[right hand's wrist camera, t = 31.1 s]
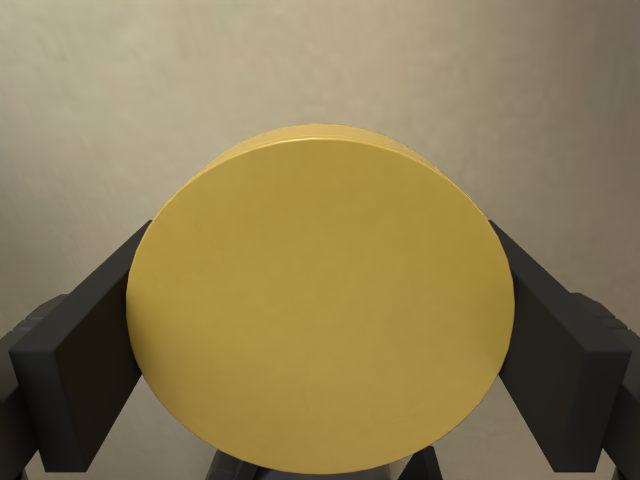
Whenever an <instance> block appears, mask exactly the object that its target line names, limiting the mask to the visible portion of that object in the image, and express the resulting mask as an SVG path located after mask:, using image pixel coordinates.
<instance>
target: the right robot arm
mask: <svg viewBox="0 0 640 480" xmlns="http://www.w3.org/2000/svg"><path fill="white" fill-rule="evenodd" d="M152 221H153V220H149V221H148V222H147V223H146V224H145V225H143V226H142V227H141V228H140V229H139V230H138V231H137V232H136V233H135V234H134V235H133V236H132V237H130V238H129V239H128V240H127V241H126V242H125V243H124V244H123V245H122V246H121V247H120V248H119V249H117V250H116V251H115V252H114V253H113V254H112V255H111V256H110V257H109V258H108V259H107V260H106V261H104V262H103V263H102V264H101V265H100V266H99V267H98V268H97V269H96V270H95V271H94V272H93V273H91V274H90V275H89V276H88V277H87V278H86V279H85V280H84V281H83V282H82V283H81V284H79V285H78V286H77V287H76V288H75V289H74V290H73V291H72V292H71V293H70V294H61V295H59V296H57V297H55V298H53V299H51V300H49V301H48V302H46V303H44V304H42V305H40V306H39V307H38V308H36V309H35V310H34V311H33V312H32V313H31V314H30V315H28V316H27V317H26V320H23V321H21V322H20V323H19V324H18V325H17V326H16V327H15V328H13V329H14V330H13V331H10V332H9V333H8V334H6V335H5V336H4V337H3V338H2V339H1V340H0V480H28V477H27V474H26V471H25V466H26V465H27V464H28V462H29V461H30V460H31V458H32V457H33V455H34V454H35V453H36V451H37V450H39V453H40V456H41V460H42V463H43V466H44V469H45V472H86V471H87V469H88V468H89V466H90V464H91V462H92V461H93V459H94V457H95V455H96V454H97V452H98V450H99V448H100V447H101V445H102V443H103V441H104V440H105V438H106V436H107V434H108V433H109V431H110V429H111V427H112V426H113V424H114V422H115V420H116V419H117V417H118V415H119V413H120V412H121V410H122V408H123V406H124V405H125V403H126V401H127V399H128V398H129V396H130V394H131V392H132V391H133V389H134V387H135V385H136V384H137V382H138V380H139V378H140V377H141V375H142V372H141V370H140V368H139V366H138V364H137V362H136V359H135V356H134V353H133V350H132V346H131V342H130V337H129V331H128V326H127V320H126V291H127V284H128V278H129V272H130V269H131V266H132V262H133V259H134V256H135V253H136V250H137V248H138V246H139V244H140V242H141V240H142V238H143V236H144V234H145V232H146V230H147V228H148V226H149V225H150V224H151V222H152ZM488 221H489V223H490V225H491V226H492V228H493V230H494V231H495V233H496V234H497V236H498V238H499V240H500V243H501V245H502V247H503V250H504V252H505V255H506V257H507V259H508V263H509V267H510V272H511V276H512V280H513V287H514V299H515V311H514V322H513V328H512V333H511V338H510V343H509V348H508V352H507V354H506V357H505V360H504V362H503V365H502V368H501V370H500V371H499V373H498V374H499V376H500V378H501V380H502V381H503V383H504V385H505V387H506V388H507V390H508V392H509V394H510V395H511V397H512V399H513V401H514V402H515V404H516V406H517V408H518V409H519V411H520V413H521V415H522V416H523V418H524V420H525V422H526V423H527V425H528V427H529V429H530V430H531V432H532V434H533V436H534V437H535V439H536V441H537V443H538V444H539V446H540V448H541V450H542V451H543V453H544V455H545V457H546V458H547V460H548V462H549V464H550V465H551V467H552V469H553V471H554V472H595V470H596V467H597V464H598V461H599V457H600V454H601V451H602V448H603V449H604V450H605V451H606V453H607V454H608V455H609V457H610V458H611V459H612V461H613V462H614V464H615V465H616V468H615V471H614V474H613V477H612V480H640V337H639V336H637V335H636V334H635V333H634V332H633V331H632V330H628V329H627V326H626V325H625V324H624V323H622V322H621V321H620V320H619V319H615V316H614V315H613V314H612V313H611V312H610V311H608V310H607V309H606V308H605V307H604V306H603V305H601V304H600V303H598V302H596V301H594V300H592V299H590V298H588V297H586V296H584V295H582V294H581V293H569V292H568V291H567V290H566V289H565V288H564V287H563V286H562V285H561V284H560V283H559V282H558V281H556V280H555V279H554V278H553V277H552V276H551V275H550V274H549V273H548V272H547V271H546V270H545V269H543V268H542V267H541V266H540V265H539V264H538V263H537V262H536V261H535V260H534V259H533V258H532V257H530V256H529V255H528V254H527V253H526V252H525V251H524V250H523V249H522V248H521V247H520V246H519V245H517V244H516V243H515V242H514V241H513V240H512V239H511V238H510V237H509V236H508V235H507V234H506V233H504V232H503V231H502V230H501V229H500V228H499V227H498V226H497V225H496V224H495V223H494V222H493V221H491V220H488Z"/></svg>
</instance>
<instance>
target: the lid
mask: <svg viewBox="0 0 640 480" xmlns="http://www.w3.org/2000/svg"><path fill="white" fill-rule="evenodd" d="M514 311H515V299H514V287H513V280H512V276H511V272H510V267H509V263H508V259H507V257H506V255H505V252H504V250H503V247H502V245H501V243H500V240H499V238H498V236H497V234H496V233H495V231H494V230H493V228H492V226H491V225H490V223H489V221H488V220H487V218H486V217H485V215H484V214H483V213H482V212H481V211H480V209H479V208H478V207H477V206H476V205H475V203H474V202H473V201H472V200H471V199H470V198H469V196H468V195H466V194H465V193H464V192H463V191H462V190H461V189H460V188H459V187H458V186H456V185H455V184H454V183H453V182H452V181H451V180H450V179H449V178H448V177H446V176H445V175H444V174H443V173H442V172H441V171H440V170H439V169H437V168H436V167H435V166H434V165H433V164H432V163H430V162H429V161H428V160H427V159H426V158H425V157H423V156H421V155H420V154H418V153H417V152H415V151H414V150H412V149H411V148H409V147H408V146H406V145H404V144H402V143H400V142H397V141H395V140H393V139H391V138H389V137H387V136H385V135H381V134H378V133H375V132H372V131H368V130H365V129H362V128H356V127H350V126H344V125H338V124H307V125H297V126H288V127H284V128H280V129H276V130H272V131H268V132H265V133H262V134H259V135H257V136H254V137H252V138H249V139H247V140H244V141H242V142H241V143H239V144H237V145H235V146H233V147H232V148H230V149H228V150H226V151H225V152H223V153H222V154H220V155H219V156H218V157H216V158H215V159H214V160H213V161H211V162H210V163H209V164H207V165H206V166H205V167H204V168H203V169H201V170H200V171H199V172H198V173H197V174H196V175H195V176H194V177H193V178H191V179H190V180H189V181H188V182H187V183H186V184H185V185H184V186H183V187H181V188H180V189H179V190H178V191H177V192H176V194H175V195H174V196H173V197H172V198H171V199H170V200H169V201H168V202H167V203H166V204H165V205H164V206H163V207H162V208H161V210H160V211H159V212H158V214H157V215H156V217H155V218H154V219H153V221H152V222H151V224H150V225H149V226H148V228H147V230H146V232H145V234H144V236H143V238H142V240H141V242H140V244H139V246H138V248H137V250H136V253H135V256H134V259H133V262H132V266H131V269H130V272H129V278H128V284H127V291H126V320H127V326H128V331H129V337H130V342H131V346H132V350H133V353H134V356H135V359H136V362H137V364H138V366H139V368H140V370H141V372H142V374H143V376H144V379H145V380H146V382H147V383H148V385H149V386H150V388H151V390H152V391H153V393H154V394H155V396H156V397H157V398H158V400H159V401H160V402H161V403H162V404H163V406H164V407H165V408H166V409H167V410H168V411H169V413H170V414H171V415H172V416H174V417H175V418H176V419H177V420H178V421H179V422H180V423H181V424H182V425H183V426H184V427H185V428H187V429H188V430H189V431H191V432H192V433H193V434H195V435H196V436H198V437H199V438H200V439H202V440H203V441H205V442H206V443H208V444H210V445H212V446H213V447H215V448H217V449H219V450H220V451H222V452H224V453H227V454H229V455H231V456H233V457H236V458H238V459H240V460H243V461H246V462H249V463H252V464H255V465H258V466H261V467H266V468H270V469H275V470H279V471H285V472H293V473H302V474H337V473H349V472H355V471H360V470H366V469H371V468H375V467H378V466H382V465H385V464H389V463H392V462H394V461H397V460H400V459H402V458H405V457H407V456H410V455H412V454H414V453H416V452H418V451H420V450H422V449H424V448H425V447H427V446H429V445H431V444H432V443H434V442H435V441H437V440H438V439H440V438H441V437H443V436H444V435H446V434H447V433H449V432H450V431H451V430H452V429H453V428H455V427H456V426H457V425H458V424H459V423H461V422H462V421H463V420H464V419H465V418H466V417H467V416H468V415H469V414H470V413H471V412H472V411H473V410H474V408H475V407H476V406H477V405H478V404H479V403H480V401H481V400H482V399H483V397H484V396H485V395H486V393H487V392H488V390H489V389H490V388H491V386H492V384H493V382H494V381H495V379H496V377H497V375H498V373H499V371H500V370H501V368H502V365H503V362H504V360H505V357H506V354H507V352H508V348H509V343H510V338H511V333H512V328H513V322H514Z"/></svg>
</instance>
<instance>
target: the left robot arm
mask: <svg viewBox="0 0 640 480" xmlns="http://www.w3.org/2000/svg"><path fill="white" fill-rule="evenodd" d="M258 467H259V466H258V465H255V464H252V463H249V462H246V461H243V460H240V459H238V458H236V457H233V456H231V455H229V454H227V453H224V452H222V451H220V450H218V451H216V454H215V456H214V459H213V461H212V464H211V466H210V469H209V471H208V474H207V476H206V479H205V480H253V478H254V476H255V474H256V471H257V469H258ZM398 480H443V479H442V475H441V472H440V468H439V465H438V461H437V458H436V454H435V450H434V447H433V446H427V447H425V448H424V449H422V450H420V451H418V452H416V453H414V454H413V456H412V458H411V459H410V461H409V462H408V464H407V466H406V467H405V469H404V470H403V472H402V474H401V475H400V477H399V478H398Z"/></svg>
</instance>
